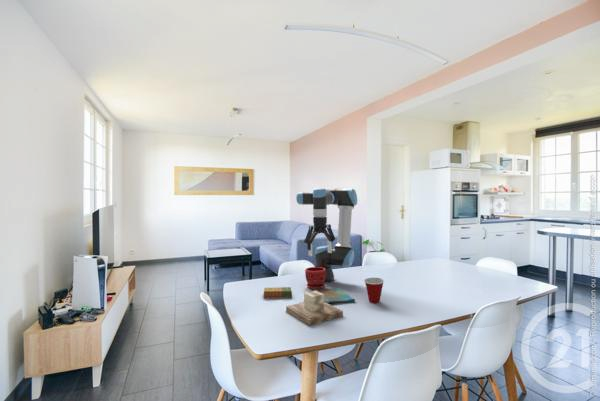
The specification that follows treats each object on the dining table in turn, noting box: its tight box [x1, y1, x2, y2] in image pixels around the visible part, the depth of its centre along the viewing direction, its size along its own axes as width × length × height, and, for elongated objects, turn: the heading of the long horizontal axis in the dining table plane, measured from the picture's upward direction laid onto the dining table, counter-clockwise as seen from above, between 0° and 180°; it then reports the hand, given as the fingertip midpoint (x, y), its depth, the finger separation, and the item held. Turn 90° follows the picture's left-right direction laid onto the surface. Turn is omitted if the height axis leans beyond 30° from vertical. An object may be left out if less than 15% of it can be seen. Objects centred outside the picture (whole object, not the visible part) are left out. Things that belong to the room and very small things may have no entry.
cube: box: [303, 290, 324, 312], centre depth 144 cm, size 7×7×7 cm
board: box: [285, 301, 344, 327], centre depth 144 cm, size 20×20×3 cm
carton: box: [263, 286, 293, 299], centre depth 170 cm, size 8×16×4 cm, turn 96°
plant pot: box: [304, 266, 326, 290], centre depth 187 cm, size 13×13×12 cm
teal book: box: [313, 287, 356, 306], centre depth 169 cm, size 17×23×2 cm
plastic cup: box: [363, 277, 385, 304], centre depth 162 cm, size 11×11×12 cm
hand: (320, 254), depth 164 cm, fingers open, 13 cm apart
